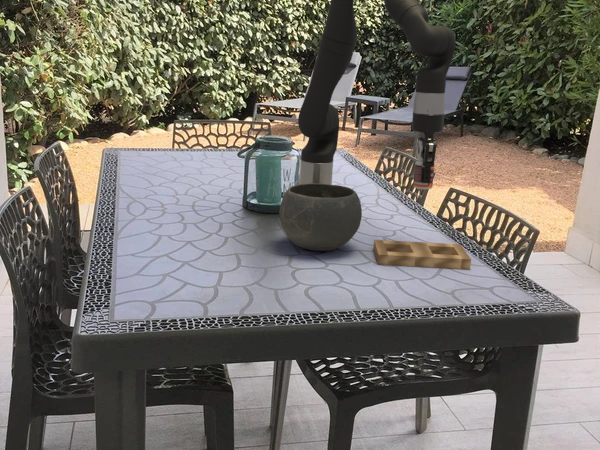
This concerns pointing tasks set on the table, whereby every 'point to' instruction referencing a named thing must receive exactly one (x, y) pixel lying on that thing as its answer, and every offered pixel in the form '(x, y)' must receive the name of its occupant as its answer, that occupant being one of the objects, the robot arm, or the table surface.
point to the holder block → (421, 254)
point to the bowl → (320, 215)
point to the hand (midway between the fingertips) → (423, 180)
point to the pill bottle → (417, 175)
